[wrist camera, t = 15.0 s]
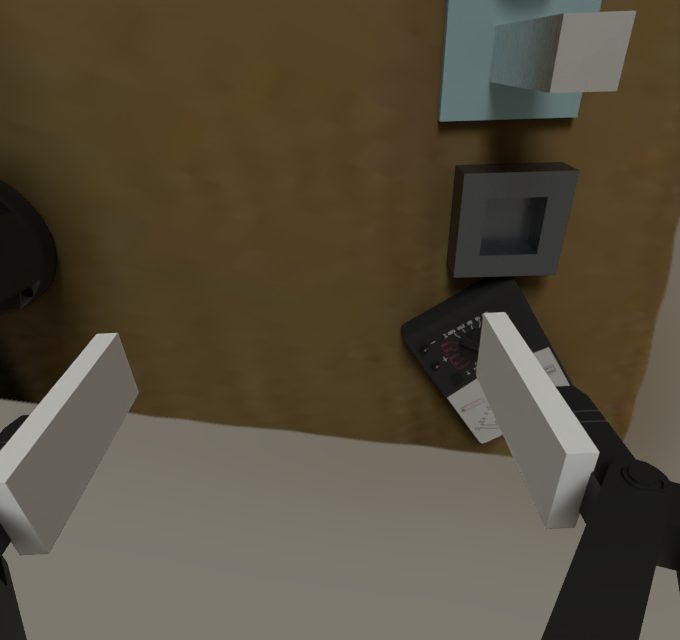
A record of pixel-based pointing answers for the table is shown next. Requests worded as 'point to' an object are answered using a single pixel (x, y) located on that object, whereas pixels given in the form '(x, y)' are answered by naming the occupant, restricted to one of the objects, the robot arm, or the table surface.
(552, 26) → the long steel block
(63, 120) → the table surface
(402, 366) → the table surface
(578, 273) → the table surface
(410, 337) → the multimeter
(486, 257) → the socket block
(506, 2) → the slate mat
